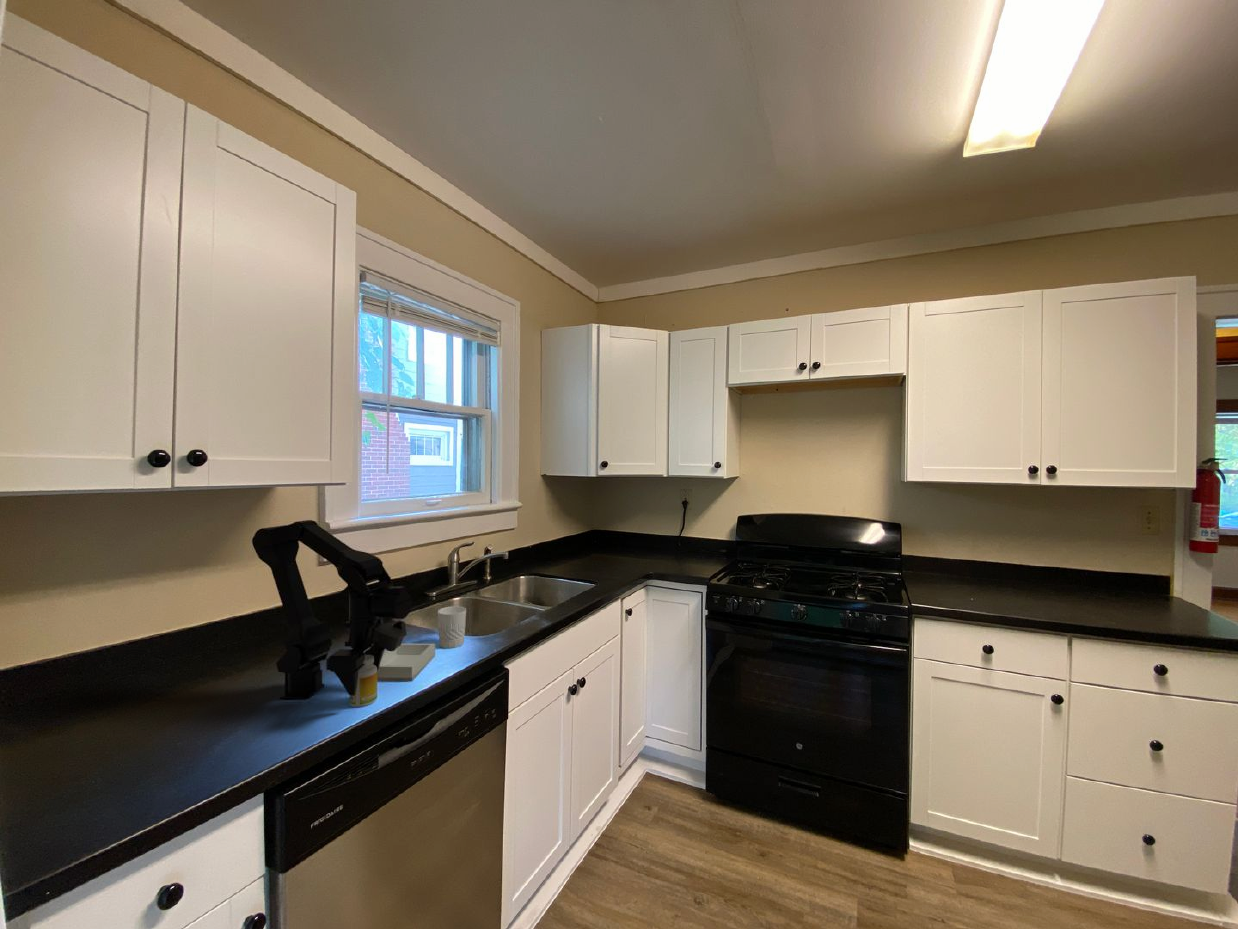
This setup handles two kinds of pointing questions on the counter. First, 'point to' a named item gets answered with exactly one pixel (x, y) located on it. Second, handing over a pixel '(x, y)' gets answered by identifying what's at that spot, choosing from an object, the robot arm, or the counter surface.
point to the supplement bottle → (366, 684)
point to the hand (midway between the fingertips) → (363, 685)
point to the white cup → (451, 626)
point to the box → (405, 662)
